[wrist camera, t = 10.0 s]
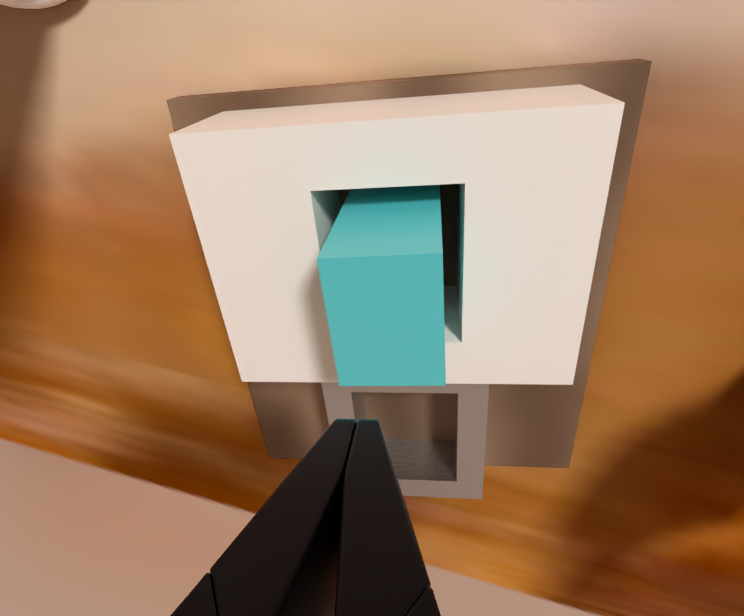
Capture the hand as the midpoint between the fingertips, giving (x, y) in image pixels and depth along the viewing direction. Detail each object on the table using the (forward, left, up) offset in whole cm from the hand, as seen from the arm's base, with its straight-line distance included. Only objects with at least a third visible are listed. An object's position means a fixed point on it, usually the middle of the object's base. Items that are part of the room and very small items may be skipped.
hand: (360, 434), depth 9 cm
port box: (0, 0, -11) cm, 11 cm away
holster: (0, +9, -11) cm, 14 cm away
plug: (0, 0, -11) cm, 11 cm away
